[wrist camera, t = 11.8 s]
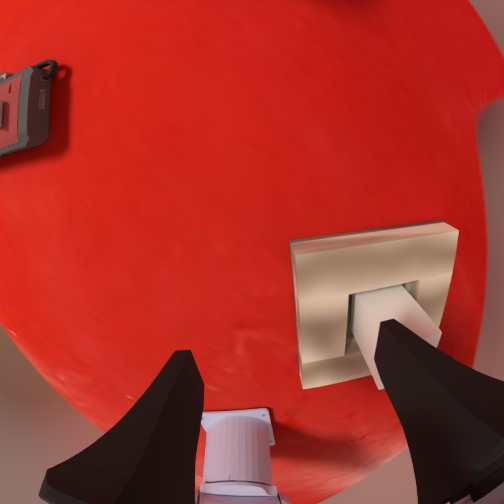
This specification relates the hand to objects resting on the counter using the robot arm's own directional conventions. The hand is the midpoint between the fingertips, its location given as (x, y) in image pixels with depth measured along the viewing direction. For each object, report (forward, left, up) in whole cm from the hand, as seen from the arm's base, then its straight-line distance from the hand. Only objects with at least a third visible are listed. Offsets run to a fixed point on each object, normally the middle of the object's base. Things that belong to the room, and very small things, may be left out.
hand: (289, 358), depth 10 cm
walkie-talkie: (+17, +23, -11) cm, 31 cm away
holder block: (-6, -8, -10) cm, 14 cm away
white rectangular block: (-6, -8, -10) cm, 14 cm away
